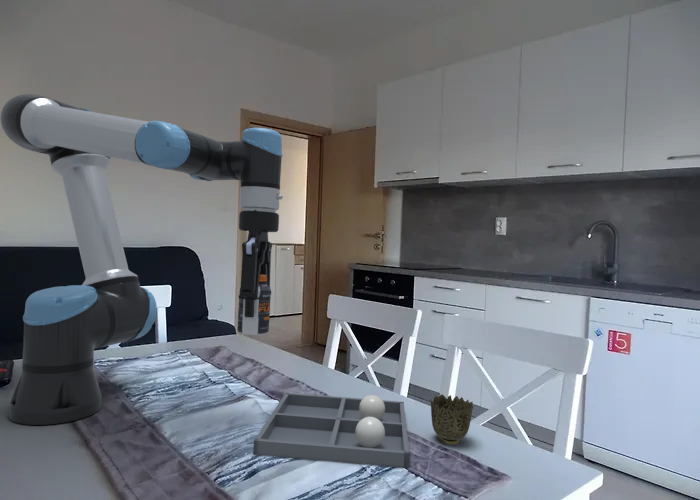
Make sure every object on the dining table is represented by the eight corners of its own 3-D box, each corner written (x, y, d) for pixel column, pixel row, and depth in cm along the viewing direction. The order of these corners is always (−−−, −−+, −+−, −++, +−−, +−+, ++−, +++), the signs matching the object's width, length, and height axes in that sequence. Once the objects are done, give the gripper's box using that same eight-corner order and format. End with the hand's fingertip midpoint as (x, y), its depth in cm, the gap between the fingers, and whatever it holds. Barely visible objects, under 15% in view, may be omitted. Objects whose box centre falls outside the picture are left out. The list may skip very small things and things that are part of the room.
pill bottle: (262, 336, 90) (265, 275, 90) (232, 333, 91) (235, 273, 91) (273, 331, 96) (275, 274, 96) (244, 328, 97) (247, 272, 97)
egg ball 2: (353, 452, 79) (355, 421, 79) (355, 439, 84) (356, 411, 84) (384, 454, 79) (385, 424, 79) (384, 442, 84) (385, 413, 84)
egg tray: (252, 460, 76) (254, 440, 76) (284, 408, 101) (285, 392, 101) (408, 474, 75) (409, 453, 75) (402, 417, 99) (403, 401, 99)
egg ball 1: (357, 425, 91) (359, 398, 91) (359, 415, 96) (360, 390, 96) (384, 427, 90) (385, 400, 90) (384, 417, 95) (385, 392, 95)
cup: (462, 458, 81) (465, 411, 81) (421, 446, 85) (424, 401, 85) (476, 444, 87) (478, 400, 87) (437, 433, 91) (440, 391, 91)
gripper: (267, 208, 83) (261, 342, 84) (288, 214, 102) (283, 324, 103) (224, 206, 84) (218, 339, 84) (253, 213, 103) (248, 322, 103)
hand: (254, 330), depth 94 cm, fingers closed on pill bottle, 6 cm apart
